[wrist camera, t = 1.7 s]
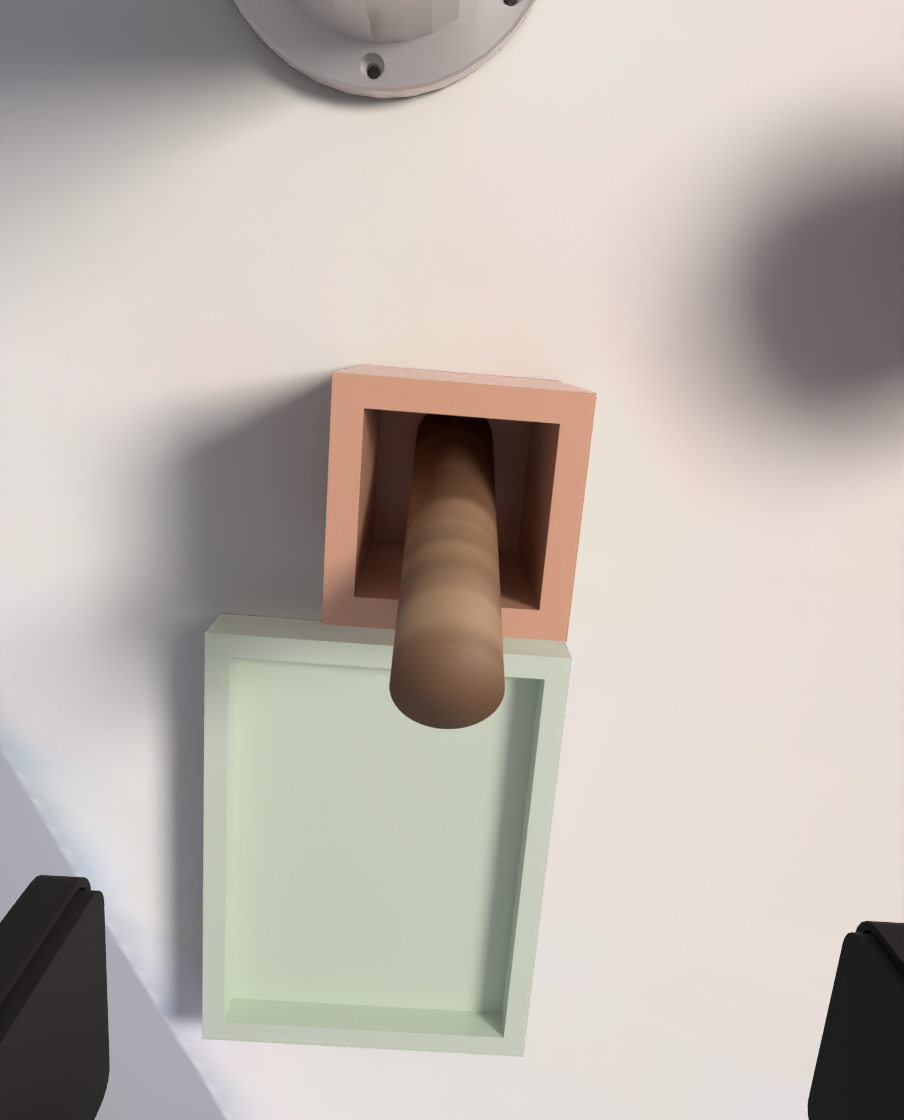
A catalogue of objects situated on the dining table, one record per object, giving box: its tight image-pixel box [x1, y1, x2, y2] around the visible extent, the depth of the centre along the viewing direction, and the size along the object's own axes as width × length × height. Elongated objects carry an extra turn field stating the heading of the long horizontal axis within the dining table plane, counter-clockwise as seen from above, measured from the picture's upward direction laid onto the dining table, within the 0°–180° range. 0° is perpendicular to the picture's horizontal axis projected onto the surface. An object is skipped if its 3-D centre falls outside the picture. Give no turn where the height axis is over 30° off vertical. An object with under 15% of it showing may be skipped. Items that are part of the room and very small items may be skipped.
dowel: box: [389, 413, 505, 729], centre depth 27 cm, size 8×3×14 cm, turn 176°
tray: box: [202, 613, 572, 1057], centre depth 38 cm, size 20×15×2 cm
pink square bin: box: [322, 365, 597, 642], centre depth 31 cm, size 8×8×9 cm
